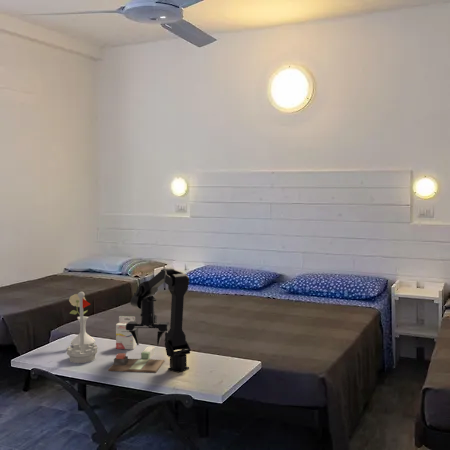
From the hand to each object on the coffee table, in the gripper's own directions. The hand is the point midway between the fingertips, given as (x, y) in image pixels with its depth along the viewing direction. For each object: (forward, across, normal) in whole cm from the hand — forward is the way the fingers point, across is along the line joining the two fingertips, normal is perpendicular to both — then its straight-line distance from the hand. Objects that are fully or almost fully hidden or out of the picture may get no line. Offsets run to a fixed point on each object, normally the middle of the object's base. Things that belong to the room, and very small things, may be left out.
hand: (148, 345), depth 251 cm
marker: (+5, 0, 0) cm, 5 cm away
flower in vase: (+5, +36, -15) cm, 40 cm away
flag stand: (+5, +28, +6) cm, 29 cm away
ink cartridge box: (+5, +14, -13) cm, 20 cm away
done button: (+3, +8, +14) cm, 16 cm away
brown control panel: (+5, +1, +14) cm, 15 cm away
